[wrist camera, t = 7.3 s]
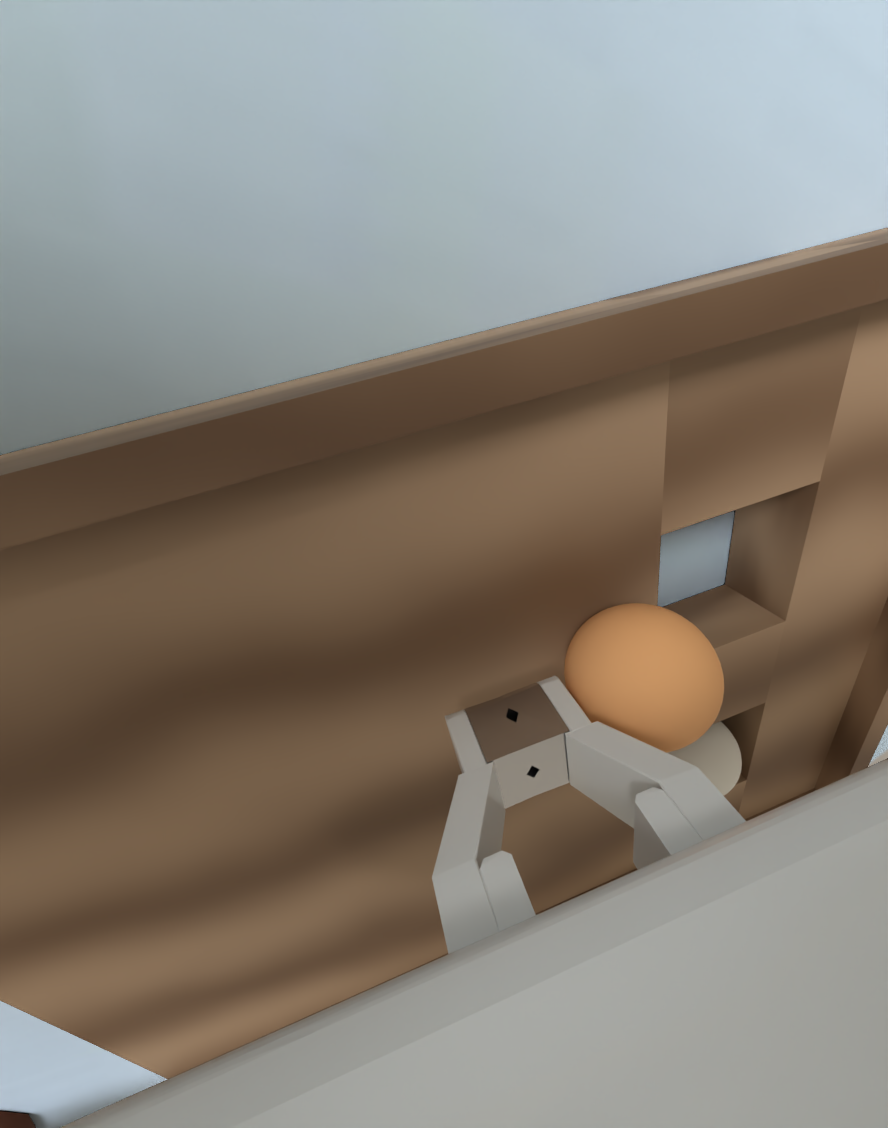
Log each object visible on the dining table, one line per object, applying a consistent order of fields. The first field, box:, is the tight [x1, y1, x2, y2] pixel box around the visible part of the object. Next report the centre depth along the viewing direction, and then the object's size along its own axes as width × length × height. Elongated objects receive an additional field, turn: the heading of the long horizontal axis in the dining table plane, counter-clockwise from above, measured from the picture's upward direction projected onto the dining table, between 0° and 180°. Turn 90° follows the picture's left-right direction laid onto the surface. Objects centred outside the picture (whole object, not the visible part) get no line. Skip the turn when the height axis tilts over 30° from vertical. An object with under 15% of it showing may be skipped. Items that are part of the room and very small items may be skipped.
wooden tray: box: [0, 228, 888, 1079], centre depth 15 cm, size 24×32×4 cm
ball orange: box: [564, 603, 724, 753], centre depth 11 cm, size 4×4×4 cm
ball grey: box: [668, 721, 742, 796], centre depth 18 cm, size 4×4×4 cm
